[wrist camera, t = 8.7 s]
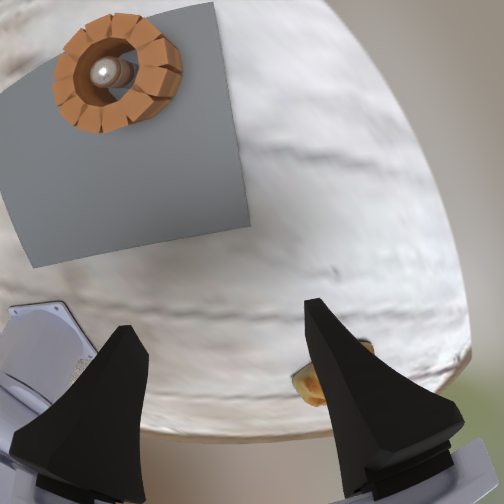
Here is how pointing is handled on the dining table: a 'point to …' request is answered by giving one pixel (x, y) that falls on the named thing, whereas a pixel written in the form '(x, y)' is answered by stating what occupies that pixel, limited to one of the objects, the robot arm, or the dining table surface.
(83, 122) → the bead
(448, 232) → the dining table surface
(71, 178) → the grey rectangular slab
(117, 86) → the metal post
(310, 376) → the pastry
